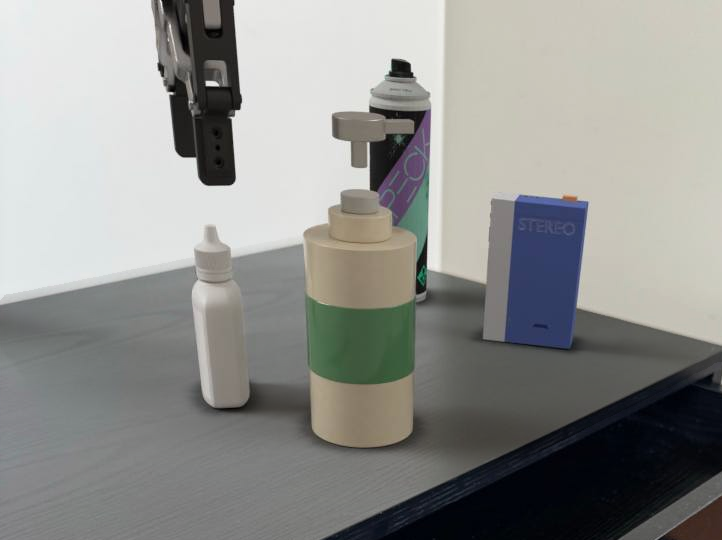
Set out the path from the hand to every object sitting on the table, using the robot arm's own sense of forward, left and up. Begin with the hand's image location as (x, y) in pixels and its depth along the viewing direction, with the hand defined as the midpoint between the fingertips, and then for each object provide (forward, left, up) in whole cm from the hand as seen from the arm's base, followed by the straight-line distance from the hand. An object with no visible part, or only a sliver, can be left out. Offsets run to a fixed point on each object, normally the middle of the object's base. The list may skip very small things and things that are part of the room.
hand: (204, 170), depth 63 cm
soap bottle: (+8, -8, -16) cm, 19 cm away
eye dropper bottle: (0, 0, -16) cm, 16 cm away
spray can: (+21, +21, -16) cm, 34 cm away
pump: (+9, -8, +2) cm, 12 cm away
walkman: (+28, +6, -16) cm, 33 cm away
